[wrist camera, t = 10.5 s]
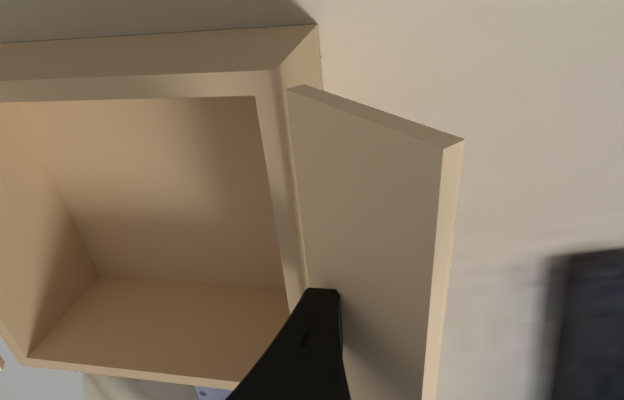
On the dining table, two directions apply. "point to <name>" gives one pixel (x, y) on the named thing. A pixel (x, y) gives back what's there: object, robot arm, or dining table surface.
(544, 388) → the dining table surface
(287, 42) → the carton
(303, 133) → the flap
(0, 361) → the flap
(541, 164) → the dining table surface
